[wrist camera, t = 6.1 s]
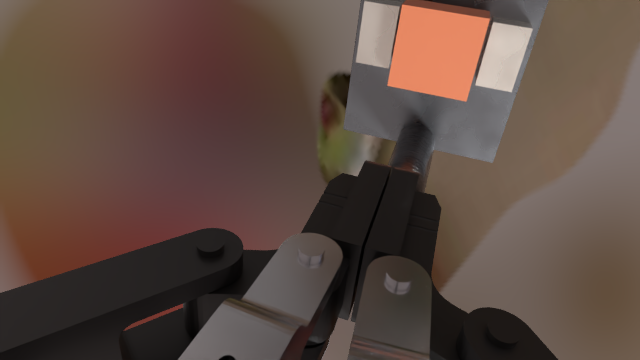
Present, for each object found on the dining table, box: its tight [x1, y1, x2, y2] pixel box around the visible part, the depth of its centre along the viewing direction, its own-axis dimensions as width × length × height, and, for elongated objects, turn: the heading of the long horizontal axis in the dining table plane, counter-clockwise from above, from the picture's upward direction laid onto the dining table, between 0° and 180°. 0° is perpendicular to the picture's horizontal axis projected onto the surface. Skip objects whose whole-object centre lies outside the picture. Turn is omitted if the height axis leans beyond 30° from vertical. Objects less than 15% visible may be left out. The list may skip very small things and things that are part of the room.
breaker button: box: [387, 0, 490, 102], centre depth 26 cm, size 4×4×4 cm
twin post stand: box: [343, 0, 548, 193], centre depth 23 cm, size 16×10×15 cm, turn 174°
